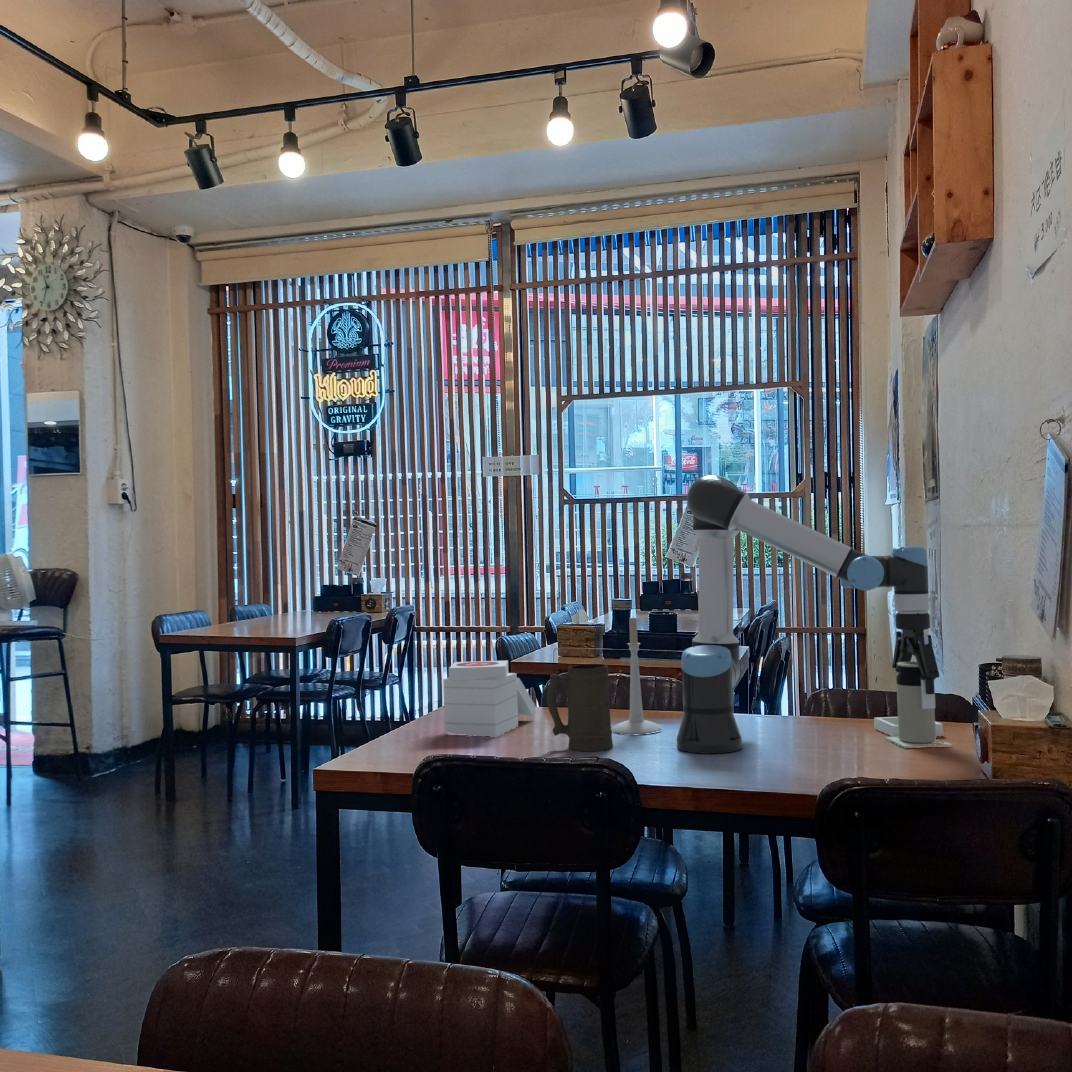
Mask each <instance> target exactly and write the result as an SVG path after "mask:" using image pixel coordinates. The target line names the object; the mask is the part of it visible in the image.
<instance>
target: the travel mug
mask: <svg viewBox="0 0 1072 1072" xmlns="http://www.w3.org/2000/svg"><path fill="white" fill-rule="evenodd" d="M897 665H898V667H899V673H898V672H897V673H898V675H897V674H896V703H897V717H898V729H899V739H900V740H902V741H904V742H908V743H918V744H924V743H932V742H934V741H935V740H936V738H937V737H936V732H935V721H936V713H935V712H936V711H935V709H936V707H935V708H933V709H923V708H922V693H921V680H920V678H921V676H922V674H921V671H920V668H919V666H918V663H917V661H916V660H915V661H913V660H912V661H909V662H899V663H897Z"/></svg>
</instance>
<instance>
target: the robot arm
mask: <svg viewBox="0 0 1072 1072" xmlns="http://www.w3.org/2000/svg"><path fill="white" fill-rule="evenodd" d="M686 504H687V507H688V509H689V512H690V513H691V514H692V532H693V533H694V534H695V535H696V536H697V538H698V610H697V611H698V615H697V617H698V621H697V623H698V625H697V626H698V627H697V629H698V630H697V634H696V635H695V636H694V637H693V638H692V641H691V647H688V648H685V649H684V650H683V652H682V653H681V661H680V668H681V684H682V687H681V688H682V705H683V707H682V709H683V711H682V712H683V715H682V719H681V723H680V725H679V730H678V733H677V736H676V748H677V749H678V750H680V751H684V752H689V753H693V754H694V753H695V754H724V753H725V754H726V753H732V752H737V751H741V750H742V748H743V739H742V738H743V737H742V734H741V732H740V728H739V727H738V723H737V721H736V719H735V718H736V717H735V715H734V694H733V693H734V691H733V689H734V688H735V687H736V686H737V685H738V684H739V681H740V680H741V676H742V671H743V669H742V668H743V667H742V663H741V662H742V661H741V660H740V640H739V638H737V637H736V636H735V634H734V569H735V568H734V565H735V564H734V563H735V562H734V558H735V557H734V555H735V552H734V550H735V549H734V546H735V545H734V542H735V541H734V540H735V537H736V536H737V535H738V534H739V533H744V534H746V535H747V536H749V537H752V538H754V539H755V540H759V541H760V542H763V543H764V544H767V545H769V546H771V547H773V548H774V549H777V550H778V551H781V552H783V553H785V554H787V555H789V556H791V557H793V558H796V559H798V560H800V561H802V562H803V563H805V564H809V565H810V566H812V567H814V568H816V569H818V570H821V571H823V572H825V573H827V574H829V575H831V576H833V577H835V578H836V579H838V580H840V586H841V587H843V588H844V589H846V588H847V589H858V590H860V591H863V592H864V591H865V592H867V591H872V590H874V589H877V588H893V600H894V601H893V602H894V603H893V605H894V606H893V607H894V611H895V612H897V613H896V614H894V620H895V623H894V624H895V628H896V629H897V630H900V631H895V637H896V638H895V643H894V644H895V646H894V651H893V652H894V653H893V658H892V665H891V667H892V669H895V672H896V676H897V675H898V673H899V667H898V665H897V663H899V662H909V661H911V660H912V657H913V656H914V658H915V661H916V662H917V663H918V666H919V668H920V671H921V674H922V676H921V678H920V680H921V693H922V708H923V709H933V708H935V709H936V693H935V692H936V691H935V680H936V679H938V678H939V677H940V672H939V668H938V663H937V660H936V656H935V651H934V648H933V641H932V635H930V634H925V632H924V631H925V630H929V629H930V628H931V617H930V616H931V615H930V614H929V613H928V612H927V611H929V610H930V602H931V597H929V592H930V591H929V566H928V557H927V556H928V555H927V550H926V548H925V547H923V546H920V545H919V546H918V545H917V546H914V545H912V546H911V545H910V546H895V547H893V548H892V550H891V551H892V552H891V554H888V555H867V553H866V554H865V553H863V552H861V551H859V550H858V549H854V548H852V547H851V546H849V545H846V544H845V543H842V542H840V541H838V540H836V539H834V538H832V537H830V536H828V535H826V534H824V533H821V532H819V531H817V530H815V529H813V528H811V527H809V526H806V525H804V524H802V523H800V522H799V521H795V520H794V519H793V518H790V517H787V516H786V515H784V514H782V513H779V512H777V511H775V510H773V509H770V508H768V507H766V506H764V505H762V504H760V503H757V502H755V501H754V500H751V498H750V496H749V494H748V493H747V492H744V491H742V490H741V489H739V488H738V487H737V485H736V484H735V483H734V482H732V481H731V480H729V479H727V478H724V477H722V476H720V475H716V474H715V475H714V474H709V475H704V476H701V477H699V478H698V479H696V480H694V482H693V483H692V484H691V485H690V487H689V489H688V490H687V495H686Z"/></svg>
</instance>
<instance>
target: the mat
mask: <svg viewBox="0 0 1072 1072" xmlns="http://www.w3.org/2000/svg"><path fill="white" fill-rule="evenodd" d="M885 739H888V740H890V741H892V742H894V743H896V744H899V745H900V746H903V747H908V746H935V745H933V744H936V746H937V744H938V745H952V746H953V744H952V743H950V742H947V741H945V742H946V743H945V742H944V743H942V742H938V743H924V744H918V743H908V742H904V741H902V740H900V739H899V737H890V736H885V737H884V740H885ZM925 744H926V745H925ZM929 744H931V745H929Z"/></svg>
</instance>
